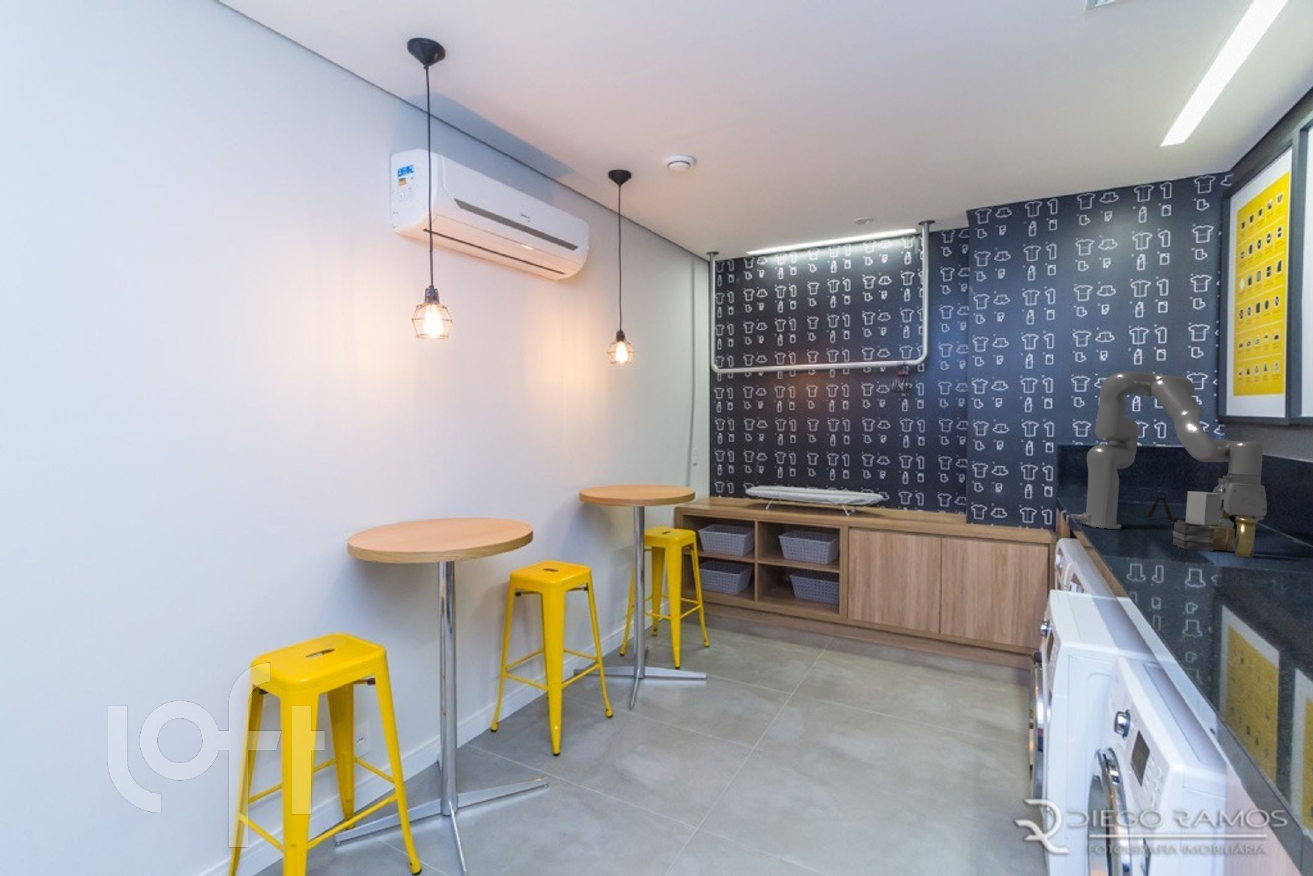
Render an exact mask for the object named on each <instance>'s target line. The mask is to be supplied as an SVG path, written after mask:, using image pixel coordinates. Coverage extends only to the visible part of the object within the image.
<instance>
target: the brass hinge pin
mask: <svg viewBox="0 0 1313 876" xmlns="http://www.w3.org/2000/svg"><path fill="white" fill-rule="evenodd" d="M1235 520H1236V521H1238V522H1237V535H1236V536H1235V537H1236V538H1235V546H1234V547H1235V548H1234V549H1235V550H1234V556H1236V557H1238V556H1241V557H1240V558H1244V557H1253V558H1254V548H1255V538H1256V537H1255V535H1256V524H1258V523H1259V520H1258V519H1255V518H1248V517H1242V516H1241V517H1236V519H1235Z"/></svg>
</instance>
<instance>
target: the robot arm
mask: <svg viewBox="0 0 1313 876" xmlns="http://www.w3.org/2000/svg"><path fill="white" fill-rule="evenodd" d="M1195 389H1196V388H1195V385H1194V383H1193V382H1192V381H1191V379H1188V378H1186V377H1183V376H1182V377H1181V376H1175V375H1174V376H1173V375H1165V374H1158V373H1152V372H1143V371H1134V370H1131V371H1129V370H1128V371H1120V372H1116V373H1113V374H1111V375H1110V376H1108V377H1107V378H1106V379H1105V380H1104V381H1103V382H1102V384H1101V386H1100V390H1099V403H1098V408H1097V409H1098V410H1097V413H1096V415H1097V416H1096V421H1095V427H1094V428H1095V429H1094V431H1095V435H1096V437H1097V438H1098V439H1099V440H1102V441H1105V442H1109V443H1107V444H1106V443H1105V444H1104V443H1103V444H1097V445H1095V446H1093V447H1091V448H1090V449H1089V450H1088V452H1087V454H1086V463H1087V465H1086V466H1087V471H1088V473H1087V474H1088V477H1087V493H1086V494H1087V495H1086V512H1083V513H1080V514H1078V513H1071V514H1070V518H1071V519H1072V520H1080V523H1081V522H1082V523H1083V524H1086V525H1090V526H1092V527H1091V528H1096V527H1099V528H1098V529H1104V528H1107V530H1120V529H1122V524H1119V523H1117V517H1118V504H1119V502H1118V501H1119V491H1120V487H1119V485H1120V478H1119V473H1118V470H1122V469H1126V468H1128V467H1129V468H1130V466H1131V465H1133V463H1134V462H1135V459H1136V454H1137V449H1138V448H1137V447H1138V442H1139V434H1140V429H1139V426H1138V423H1137V422H1136V421H1135V420H1134V419H1132V418H1131V417H1128V416H1126V414H1127V413H1126V412H1127V407H1128V406H1127V399H1126V396H1127V395H1134V396H1146V397H1152V398H1155V399H1156V401H1157V402H1158V403H1159V405H1160V406H1161V407H1162V408H1163V410H1164V411H1165V412H1166V414H1167V415H1168V416H1169V417H1170V419H1171V420H1172V422H1173V424H1174V425H1173V426H1174V430H1175V434H1176V436H1177V438H1178V440H1179V442H1180V443H1181V445H1182V446H1183V448H1184V449H1185V450H1186V451H1187V453H1188V454H1189V455H1190V456H1191V457H1192V458H1193V459H1195V460H1197V461H1199V462H1202V463H1225V462H1226V463H1228V468H1227V470H1228V471H1227V474H1225V475H1224V474H1223V475H1222V478H1223V479H1224V480H1227V481H1228V483H1225V485H1224V487H1223V490H1222V494H1221V500H1220V511H1221V512H1220V516H1221V517H1224V518H1228V519H1229V520H1230V521H1231V522H1232V523H1234V526H1233V529H1235V536H1234V537H1236V535H1237V522H1238V521H1236V520H1235V519H1236V517H1248V518H1255V519H1258V521H1263V520H1264V519H1265V516H1266V515H1267V512H1268V509H1267V508H1268V507H1267V506H1268V503H1267V495H1266V494H1267V492H1266V488H1265V485H1262V483H1261V482H1262V481H1261V480H1262V467H1263V452H1264V445H1263V444H1262V443H1261V442H1259V441H1250V440H1248V441H1247V440H1246V441H1245V440H1243V441H1242V440H1235V441H1234V440H1229V439H1222V438H1221V439H1218V438H1217V439H1213V438H1211V437H1210V436H1209V434H1207V433H1206V431H1205V430H1204V428H1203V427H1202V424H1201V422H1200V417H1201V415H1202V414H1203V413H1204V409H1203V407H1202V406H1201V405H1200V404H1199V403H1198V402H1197V400H1196V399H1195V398H1194V397H1193V395H1194V393H1195ZM1227 513H1228V514H1230V515H1228V514H1227ZM1090 526H1089V527H1090Z"/></svg>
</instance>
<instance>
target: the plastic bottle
mask: <svg viewBox="0 0 1313 876" xmlns="http://www.w3.org/2000/svg"><path fill="white" fill-rule="evenodd" d="M1225 483H1228V481H1227V480H1224V479H1223V477H1219V478H1218V479H1217V484H1218V485H1216V486H1215V487H1214V489H1213V491H1212V493H1219V494H1222V490H1223V487H1224V485H1225ZM1220 512H1221V511H1220ZM1227 514H1228V513H1227ZM1228 515H1230V514H1228ZM1219 527H1230V528H1234V523H1232V522H1231V521H1230V520H1229V519H1228V518H1224V517H1221V516H1220V522H1219Z"/></svg>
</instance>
